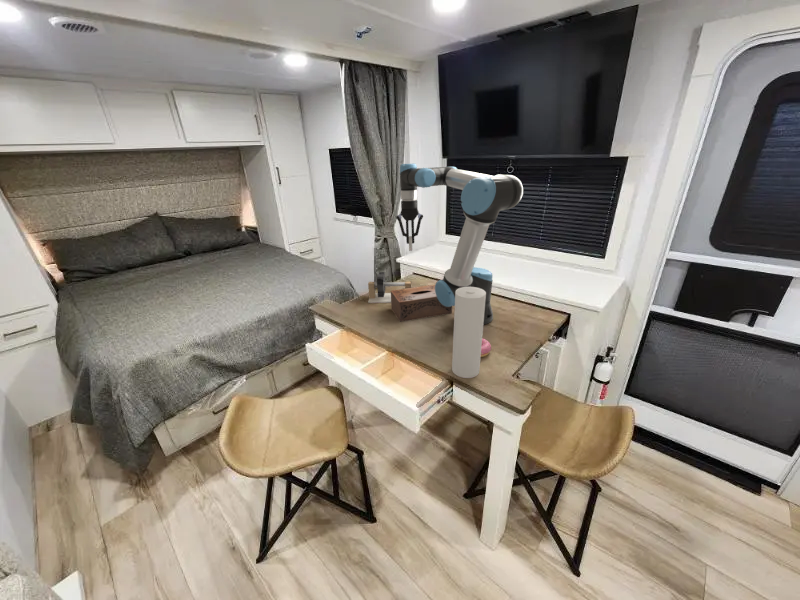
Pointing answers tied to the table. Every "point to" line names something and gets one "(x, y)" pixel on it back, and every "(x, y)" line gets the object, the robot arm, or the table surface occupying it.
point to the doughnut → (485, 348)
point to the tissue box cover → (417, 303)
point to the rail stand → (387, 296)
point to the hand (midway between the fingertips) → (410, 250)
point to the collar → (381, 284)
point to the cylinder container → (468, 331)
